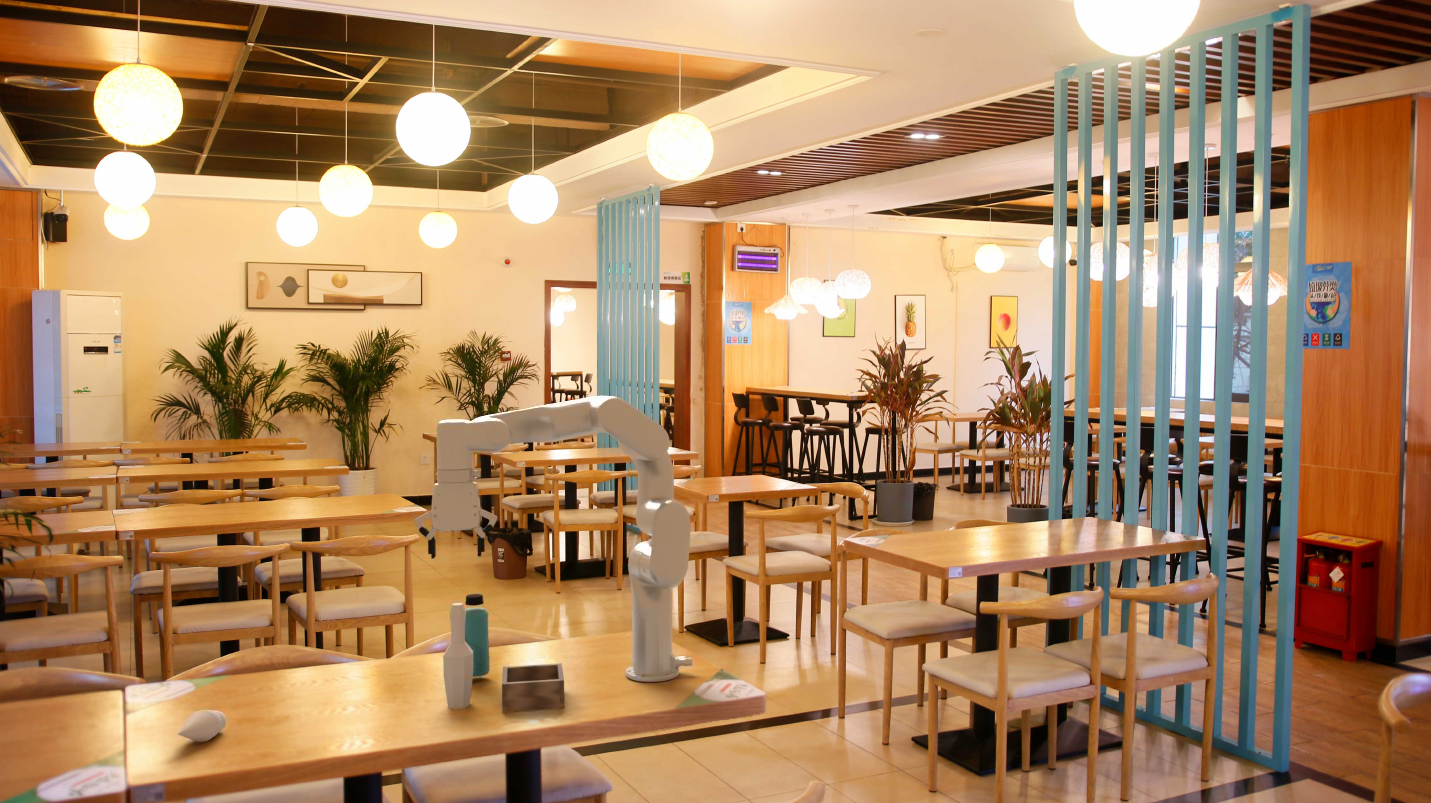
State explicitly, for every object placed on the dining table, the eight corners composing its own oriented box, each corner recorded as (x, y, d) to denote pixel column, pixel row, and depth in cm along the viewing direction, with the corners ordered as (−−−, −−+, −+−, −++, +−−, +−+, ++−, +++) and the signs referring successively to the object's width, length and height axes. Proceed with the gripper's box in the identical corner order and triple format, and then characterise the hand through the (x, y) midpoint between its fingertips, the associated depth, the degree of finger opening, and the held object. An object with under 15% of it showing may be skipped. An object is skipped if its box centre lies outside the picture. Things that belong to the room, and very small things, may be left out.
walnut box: (561, 689, 230) (561, 663, 230) (564, 707, 218) (564, 680, 217) (503, 693, 228) (502, 666, 228) (502, 712, 215) (501, 683, 215)
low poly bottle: (451, 699, 224) (450, 600, 223) (478, 701, 222) (477, 601, 222) (438, 709, 217) (437, 606, 217) (466, 710, 216) (465, 607, 216)
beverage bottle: (493, 675, 241) (492, 591, 241) (484, 684, 235) (483, 597, 234) (467, 674, 242) (465, 591, 242) (457, 683, 236) (456, 597, 235)
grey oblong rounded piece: (173, 757, 190) (216, 742, 205) (199, 736, 191) (240, 722, 205) (154, 731, 191) (198, 717, 206) (180, 710, 191) (223, 698, 206)
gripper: (497, 474, 224) (498, 551, 224) (415, 476, 221) (416, 555, 221) (496, 477, 217) (497, 557, 217) (411, 480, 213) (413, 561, 214)
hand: (456, 556), depth 219 cm, fingers open, 9 cm apart
